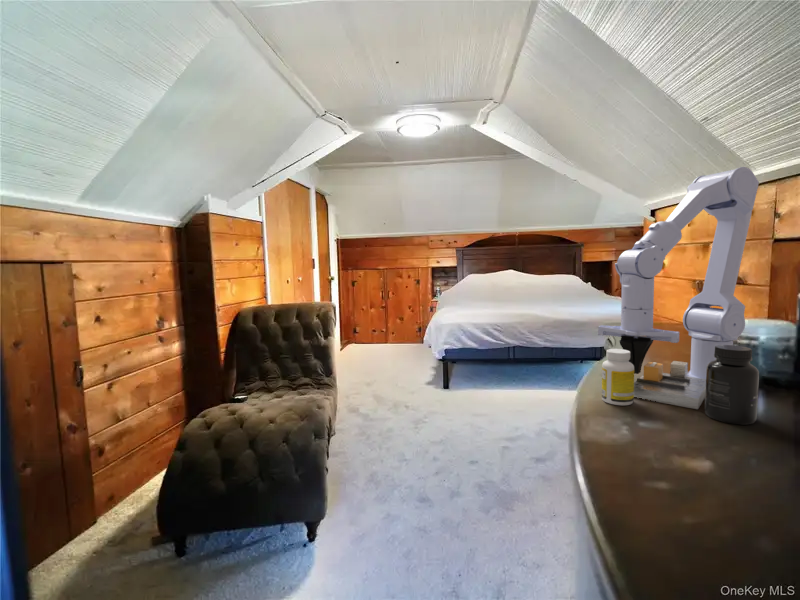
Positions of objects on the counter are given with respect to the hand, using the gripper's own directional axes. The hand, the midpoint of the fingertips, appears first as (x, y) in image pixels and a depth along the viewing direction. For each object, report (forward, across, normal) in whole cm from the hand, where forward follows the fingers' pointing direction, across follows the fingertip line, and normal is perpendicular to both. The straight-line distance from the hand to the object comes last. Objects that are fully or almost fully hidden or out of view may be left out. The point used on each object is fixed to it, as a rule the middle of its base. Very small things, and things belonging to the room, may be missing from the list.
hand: (635, 372), depth 85 cm
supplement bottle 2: (+3, +16, -8) cm, 18 cm away
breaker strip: (+3, +6, 0) cm, 7 cm away
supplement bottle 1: (+3, 0, -11) cm, 11 cm away
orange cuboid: (+1, +3, 0) cm, 3 cm away
